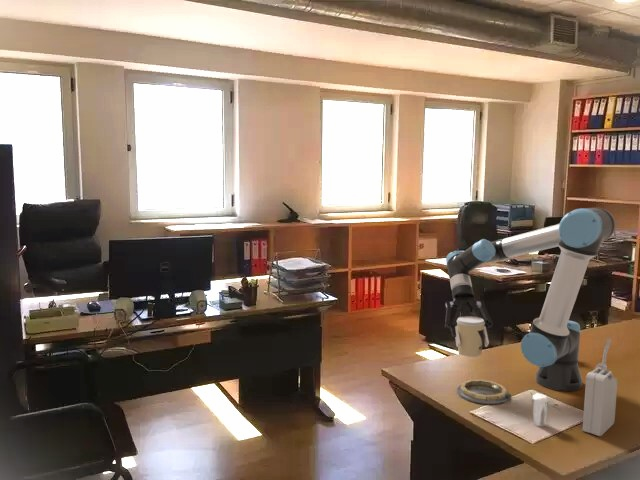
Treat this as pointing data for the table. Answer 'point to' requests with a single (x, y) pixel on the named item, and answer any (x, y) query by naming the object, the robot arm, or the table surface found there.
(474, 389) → the carrier plate
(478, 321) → the coffee cup
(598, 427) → the fuel canister
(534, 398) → the milkshake
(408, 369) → the table surface
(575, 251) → the robot arm
